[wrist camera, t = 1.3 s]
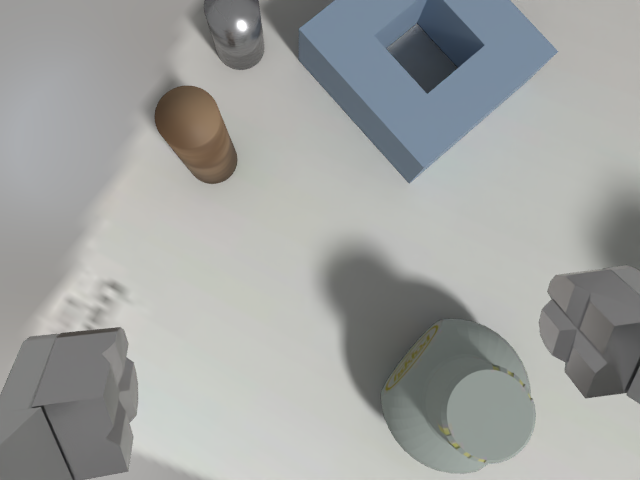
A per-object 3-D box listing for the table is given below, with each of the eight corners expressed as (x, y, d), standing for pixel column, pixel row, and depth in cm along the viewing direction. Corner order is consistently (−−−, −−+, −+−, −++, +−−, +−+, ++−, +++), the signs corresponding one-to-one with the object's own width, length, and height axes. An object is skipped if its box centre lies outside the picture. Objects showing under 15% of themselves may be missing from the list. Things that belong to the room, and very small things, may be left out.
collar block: (419, -38, 45) (435, -80, 40) (529, 79, 44) (558, 51, 40) (298, 59, 44) (298, 28, 39) (409, 183, 43) (423, 167, 38)
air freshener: (441, 478, 40) (488, 535, 30) (359, 408, 41) (380, 442, 31) (525, 367, 42) (597, 387, 32) (445, 300, 42) (491, 300, 32)
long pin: (216, 126, 43) (191, 73, 33) (247, 162, 43) (232, 119, 33) (178, 157, 42) (141, 112, 32) (209, 193, 42) (182, 160, 32)
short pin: (243, 15, 44) (235, -30, 38) (274, 50, 44) (270, 10, 38) (206, 44, 44) (192, 3, 38) (237, 79, 43) (228, 43, 37)
